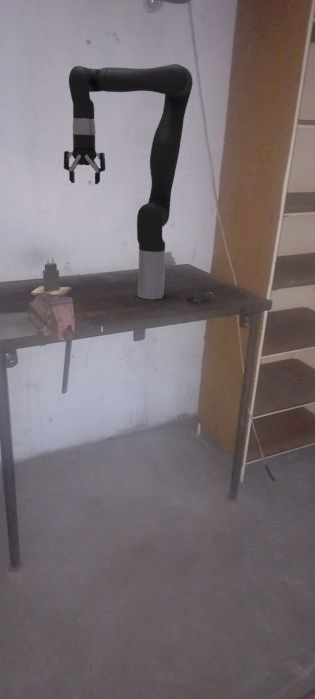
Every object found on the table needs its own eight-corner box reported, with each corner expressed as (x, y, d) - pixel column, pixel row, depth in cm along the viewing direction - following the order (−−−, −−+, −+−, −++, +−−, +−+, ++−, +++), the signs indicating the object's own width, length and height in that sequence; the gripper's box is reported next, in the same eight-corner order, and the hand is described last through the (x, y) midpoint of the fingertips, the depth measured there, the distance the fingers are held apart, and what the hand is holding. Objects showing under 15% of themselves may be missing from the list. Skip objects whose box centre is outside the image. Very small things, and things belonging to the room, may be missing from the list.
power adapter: (60, 290, 190) (59, 257, 185) (45, 291, 187) (44, 258, 183) (57, 287, 192) (56, 255, 188) (43, 289, 190) (41, 256, 185)
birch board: (71, 290, 194) (71, 287, 194) (63, 297, 185) (63, 294, 184) (40, 287, 195) (40, 285, 195) (31, 295, 186) (30, 292, 186)
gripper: (60, 132, 173) (61, 183, 179) (102, 134, 172) (102, 185, 178) (66, 132, 180) (68, 181, 186) (107, 134, 178) (107, 183, 185)
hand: (84, 183), depth 182 cm, fingers open, 8 cm apart
